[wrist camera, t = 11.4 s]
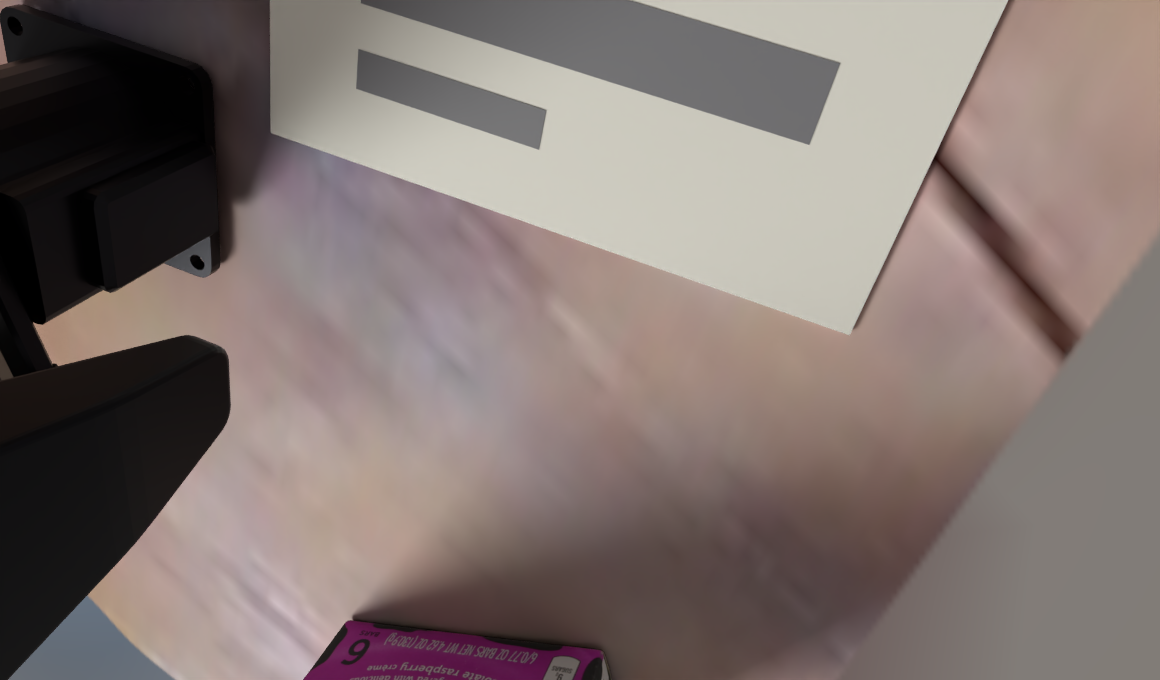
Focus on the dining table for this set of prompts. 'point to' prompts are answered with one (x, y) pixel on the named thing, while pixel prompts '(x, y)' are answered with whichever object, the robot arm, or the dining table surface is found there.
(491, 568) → the dining table surface
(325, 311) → the dining table surface
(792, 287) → the paper sheet
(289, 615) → the dining table surface
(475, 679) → the candy bar box
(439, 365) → the dining table surface
